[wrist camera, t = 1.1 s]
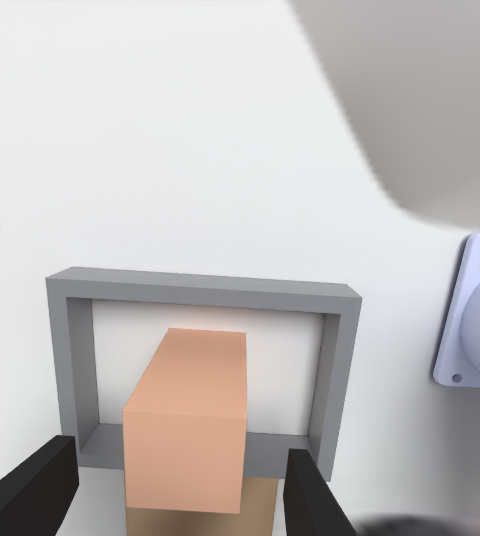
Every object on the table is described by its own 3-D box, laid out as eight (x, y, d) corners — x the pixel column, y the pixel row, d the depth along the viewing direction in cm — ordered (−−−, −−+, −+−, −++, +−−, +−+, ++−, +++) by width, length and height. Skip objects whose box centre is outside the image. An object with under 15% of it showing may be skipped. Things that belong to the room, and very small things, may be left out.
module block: (245, 332, 15) (247, 418, 9) (240, 398, 16) (239, 514, 10) (169, 327, 15) (122, 410, 9) (169, 393, 16) (126, 506, 10)
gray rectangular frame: (346, 284, 14) (362, 297, 12) (320, 448, 17) (330, 481, 15) (72, 266, 14) (45, 277, 12) (86, 434, 17) (65, 465, 15)
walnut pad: (277, 470, 17) (278, 477, 17) (268, 549, 19) (268, 557, 18) (126, 461, 17) (124, 467, 17) (130, 541, 19) (127, 548, 18)
